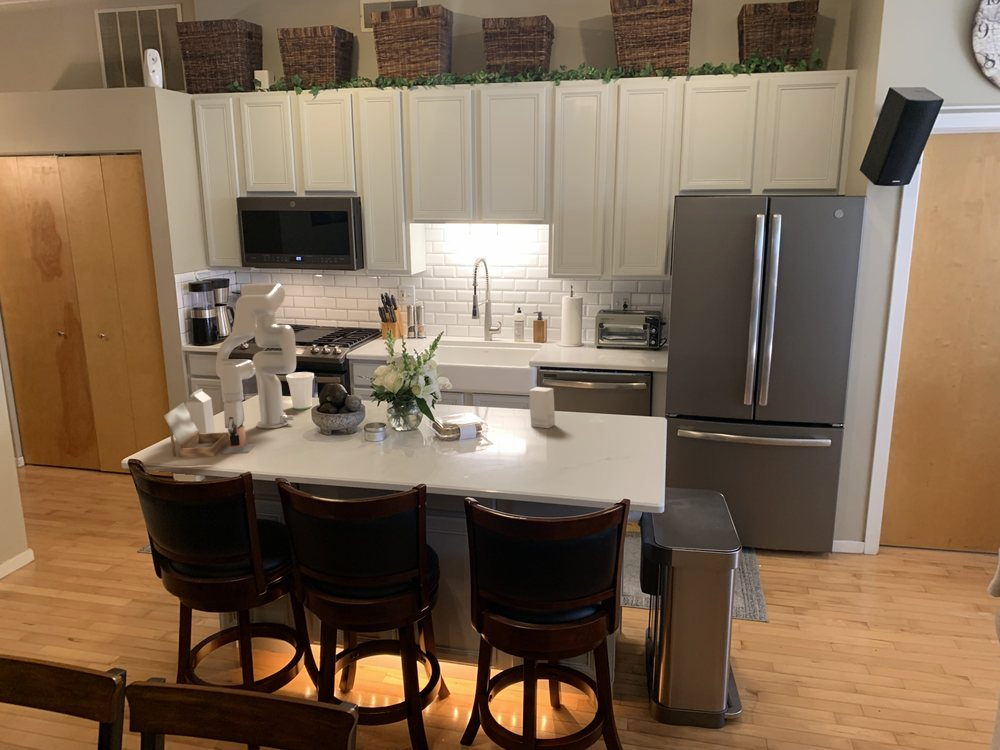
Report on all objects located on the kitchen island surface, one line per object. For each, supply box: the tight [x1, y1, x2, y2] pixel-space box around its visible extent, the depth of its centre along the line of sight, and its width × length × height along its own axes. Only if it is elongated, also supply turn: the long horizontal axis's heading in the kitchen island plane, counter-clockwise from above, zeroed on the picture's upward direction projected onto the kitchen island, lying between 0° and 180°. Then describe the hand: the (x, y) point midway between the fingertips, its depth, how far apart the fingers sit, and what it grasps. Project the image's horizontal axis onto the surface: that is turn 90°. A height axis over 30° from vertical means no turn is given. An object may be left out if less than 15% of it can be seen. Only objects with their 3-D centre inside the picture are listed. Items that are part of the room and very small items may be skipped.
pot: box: [227, 424, 247, 448], centre depth 284 cm, size 6×6×7 cm
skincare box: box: [528, 386, 556, 429], centre depth 306 cm, size 8×7×16 cm
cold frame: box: [163, 402, 229, 458], centre depth 286 cm, size 16×20×16 cm
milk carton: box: [185, 388, 216, 433], centre depth 303 cm, size 7×7×19 cm
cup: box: [285, 371, 315, 411], centre depth 345 cm, size 12×12×15 cm
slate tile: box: [220, 443, 256, 455], centre depth 285 cm, size 10×10×1 cm
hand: (237, 442), depth 285 cm, fingers closed on pot, 6 cm apart
